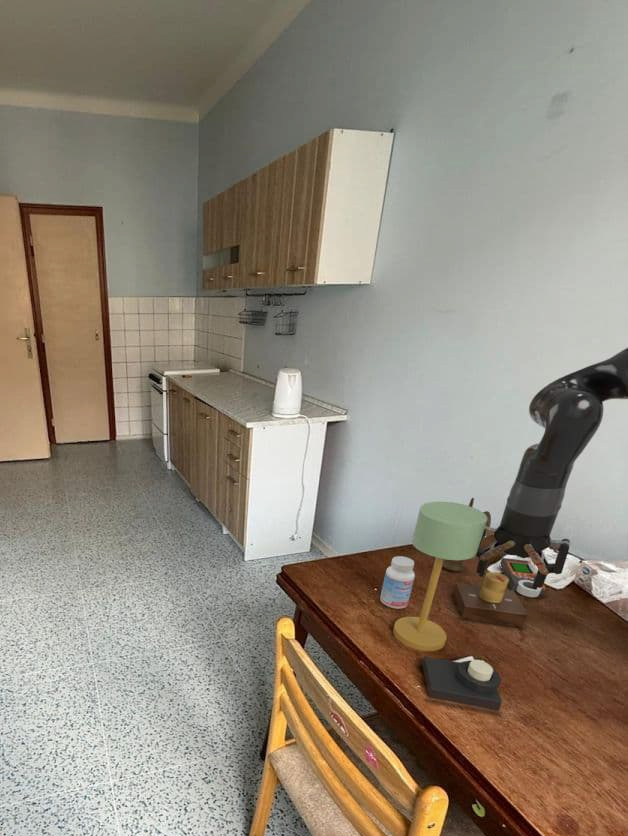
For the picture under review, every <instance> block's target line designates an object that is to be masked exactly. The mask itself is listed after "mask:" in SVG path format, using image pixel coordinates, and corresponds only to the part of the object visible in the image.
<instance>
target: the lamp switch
mask: <svg viewBox="0 0 628 836" xmlns="http://www.w3.org/2000/svg"><path fill="white" fill-rule="evenodd" d="M470 661H471V662H470V665H469V667H468V670H467V671H468V674H469V675H470V676H471V677H473V678H475V679H477V680H480V681H488V680H490V678H491V676H492V673H493V669H494V668H493V667H492V665H490V664H489V663H488V662H485V661H483V660H477V659H476V660H475V659H474V660H470Z"/></svg>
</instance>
